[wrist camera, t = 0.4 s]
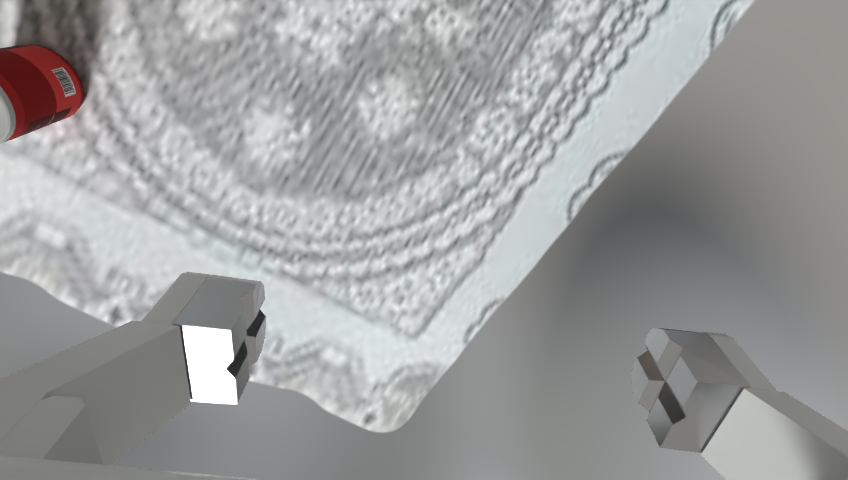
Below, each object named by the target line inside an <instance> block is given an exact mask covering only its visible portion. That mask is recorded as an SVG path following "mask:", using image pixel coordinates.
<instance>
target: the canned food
mask: <svg viewBox="0 0 848 480" xmlns="http://www.w3.org/2000/svg"><path fill="white" fill-rule="evenodd" d="M83 96H84V95H83V87H82V83H81V81H80V78H79V76H78V75H77V73H76V71H75V70H74V68H73V67H72V66H71V65H70V64H69V63H68V62H67V61H66V60H65V59H64V58H63V57H61V56H60V55H59V54H57V53H56V52H54V51H52V50H50V49H47V48H44V47H40V46H36V45H29V44H27V45H18V46H12V47H6V48H0V143H3V142H6V141H8V140H12V139H14V138H17V137H19V136H22V135H24V134H27V133H30V132H32V131H35V130H37V129H40V128H42V127H45V126H47V125H50V124H52V123H55V122H57V121H60V120H62V119H65V118H67V117H70V116H71V115H73V114H74V113H75V112H76V111H77V110H78V109H79V107H80V106H81V104H82V102H83Z"/></svg>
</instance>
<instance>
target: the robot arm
mask: <svg viewBox="0 0 848 480" xmlns="http://www.w3.org/2000/svg"><path fill="white" fill-rule="evenodd" d="M264 300H265V293H264V285H263V283H262V282H261V281H254V280H246V279H239V278H232V277H224V276H217V275H209V274H201V273H192V272H186V273H183V274H181V275H180V276H179V277H178V278H177V279H176V281H175V282H174V283H173V284H172V285H171V287H170V288H169V289H168V290H167V291H166V292H165V294H164V295H163V296H162V297H161V298H160V300H159V301H158V302H157V303H156V304H155V305H154V307H153V308H152V309H151V310H150V311H149V313H148V314H147V315H146V316H145V317H144V318H143V320H142V321H131V322H129V323H126V324H124V325H122V326H119V327H117V328H115V329H113V330H110V331H108V332H106V333H103V334H101V335H99V336H97V337H94V338H92V339H90V340H87V341H85V342H83V343H80V344H78V345H76V346H73V347H71V348H69V349H67V350H65V351H62V352H60V353H57V354H55V355H53V356H51V357H49V358H46V359H44V360H42V361H39V362H37V363H34V364H32V365H30V366H28V367H25V368H23V369H21V370H18V371H16V372H14V373H11V374H9V375H7V376H5V377H2V378H0V480H259V479H249V478H238V477H227V476H217V475H207V474H195V473H185V472H174V471H164V470H152V469H142V468H132V467H121V466H111V465H112V464H113V463H114V462H116V461H117V460H118V459H120V458H121V457H122V456H124V455H125V454H126V453H127V452H129V451H130V450H132V449H133V448H134V447H135V446H137V445H138V444H139V443H141V442H142V441H143V440H145V439H146V438H147V437H148V436H150V435H151V434H152V433H154V432H155V431H156V430H158V429H159V428H160V427H161V426H163V425H164V424H165V423H167V422H168V421H169V420H170V419H172V418H173V417H174V416H176V415H177V414H178V413H180V412H181V411H182V410H183V409H185V408H186V407H187V406H189V405H190V404H191V401H199V402H212V403H226V404H238V402H239V399H240V397H241V395H242V393H243V391H244V389H245V386H246V384H247V382H248V380H249V366H251V365H252V364H254V363H255V362H257V360H258V358H259V355H260V353H261V351H262V347H263V343H264V339H265V330H266V316H265V315H264V314H263V313H262V311H261V310H260V308H261V306H262V304H263V302H264ZM645 344H646V347H647V350H648V351H646V352H645V353H643V354H642V355H640V356H639V357H637V359H636V361H635V364H634V366H633V369H632V378H631V384H632V388H633V393H634V395H635V397H636V399H637V401H638V403H639V404H641V405H642V406H643V407H645V408H646V409H647V410H648V411H649V414H648V417H647V422H648V424H649V426H650V428H651V430H652V432H653V434H654V436H655V438H656V441H657V443H658V445H659V447H661V448H669V449H675V450H683V451H691V452H698V453H702V454H701V455H702V456H703V457H704V458H705V459H706V460H707V461H708V462H709V463H710V464H711V465H712V466H713V467H714V468H715V469H716V470H717V471H718V472H719V473H720V474H721V475H722V476H723V477H724V478H725V479H726V480H848V431H847V430H845V429H843V428H842V427H840V426H839V425H837V424H836V423H834V422H832V421H831V420H829V419H828V418H826V417H824V416H822V415H821V414H819V413H818V412H816V411H815V410H813V409H811V408H810V407H808V406H807V405H805V404H803V403H802V402H800V401H798V400H797V399H795V398H794V397H792V396H790V395H789V394H787V393H785V392H779V391H777V390H776V389H775V388H774V386H773V385H772V384H771V383H770V382H769V381H768V379H767V378H766V377H765V376H764V374H763V373H762V372H761V371H760V370H759V369H758V367H757V366H756V365H755V364H754V363H753V361H752V360H751V359H750V358H749V357H748V355H747V354H746V353H745V352H744V351H743V349H742V348H741V347H740V346H739V345H738V343H737V342H736V341H735V340H734V339H733V338H732V337H730V336H728V335H726V334H722V333H709V332H692V331H683V330H673V329H664V328H654V329H652V331H650V332H649V334H648V336H647V338H646V340H645Z"/></svg>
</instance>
